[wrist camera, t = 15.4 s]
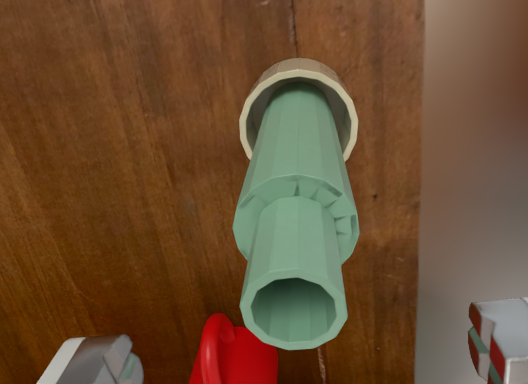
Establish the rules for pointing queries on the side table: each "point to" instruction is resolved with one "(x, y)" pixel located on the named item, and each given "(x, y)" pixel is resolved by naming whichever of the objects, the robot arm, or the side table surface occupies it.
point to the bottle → (296, 223)
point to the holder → (299, 72)
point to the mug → (233, 355)
